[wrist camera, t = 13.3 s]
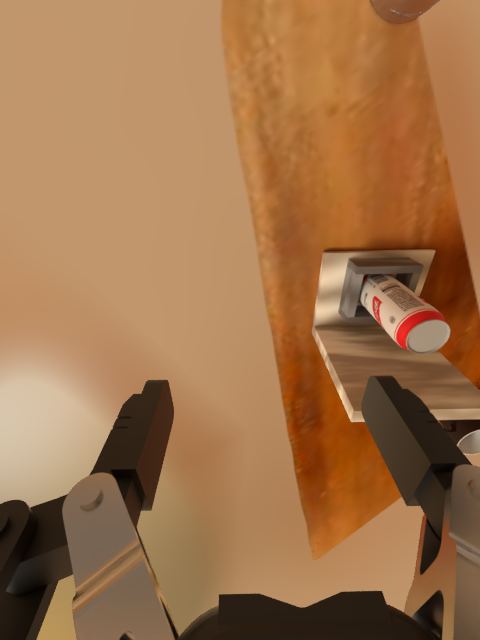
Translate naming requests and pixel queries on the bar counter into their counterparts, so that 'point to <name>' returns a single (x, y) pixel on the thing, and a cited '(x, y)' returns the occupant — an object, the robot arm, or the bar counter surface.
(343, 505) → the bar counter surface
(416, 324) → the beer can
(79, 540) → the robot arm
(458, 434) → the coffee mug
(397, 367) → the can rack
